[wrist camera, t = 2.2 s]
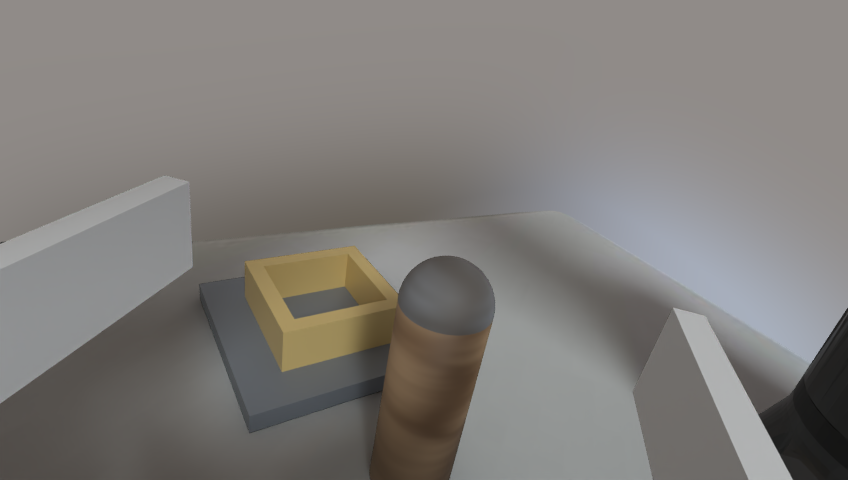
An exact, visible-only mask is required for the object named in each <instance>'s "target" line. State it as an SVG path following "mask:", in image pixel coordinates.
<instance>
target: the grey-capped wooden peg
mask: <svg viewBox="0 0 848 480" xmlns="http://www.w3.org/2000/svg"><path fill="white" fill-rule="evenodd" d="M494 313H495V297H494V293H493V289H492V287H491V284H490V282H489V280H488V279H487V277H486V276H485V275H484V273H483V272H482V271H481V270H480V269H479V268H478V267H477V266H475V265H474V264H472V263H471V262H469V261H467V260H465V259H462V258H459V257H454V256H438V257H433V258H430V259H427V260H425V261H423V262H422V263H420V264H418V265H417V266H416V267H415V268H413V269H412V270H411V271H410V272H409V274H408V275H407V276H406V278H405V279H404V281H403V283H402V285H401V288H400V290H399V294H398V300H397V306H396V312H395V318H394V324H393V331H392V337H391V343H390V349H389V355H388V361H387V367H386V373H385V379H384V386H383V392H382V398H381V404H380V410H379V416H378V422H377V428H376V435H375V441H374V447H373V453H372V459H371V465H370V480H449V478H450V475H451V471H452V467H453V464H454V460H455V456H456V453H457V449H458V446H459V442H460V438H461V435H462V431H463V427H464V424H465V420H466V416H467V413H468V409H469V406H470V402H471V398H472V395H473V391H474V387H475V384H476V380H477V376H478V373H479V369H480V365H481V362H482V358H483V355H484V351H485V347H486V344H487V340H488V336H489V333H490V329H491V325H492V322H493V318H494Z"/></svg>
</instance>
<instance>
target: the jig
mask: <svg viewBox="0 0 848 480" xmlns="http://www.w3.org/2000/svg"><path fill="white" fill-rule="evenodd" d="M199 288H200V299H201V302H202V305H203V308H204V310H205V313H206V316H207V319H208V321H209V324H210V327H211V330H212V332H213V335H214V338H215V341H216V343H217V346H218V349H219V351H220V354H221V357H222V360H223V362H224V365H225V368H226V371H227V373H228V376H229V379H230V382H231V384H232V387H233V390H234V392H235V395H236V398H237V401H238V403H239V406H240V409H241V412H242V414H243V417H244V420H245V423H246V425H247V428H248V431H249V433H251V432H254V431H257V430H260V429H263V428H266V427H270V426H273V425H276V424H279V423H282V422H285V421H288V420H291V419H294V418H297V417H301V416H304V415H307V414H310V413H313V412H316V411H319V410H322V409H325V408H329V407H332V406H335V405H338V404H341V403H344V402H347V401H350V400H353V399H356V398H360V397H363V396H366V395H369V394H372V393H375V392H378V391H381V390H383V386H384V379H385V373H386V367H387V361H388V355H389V349H390V343H391V337H392V331H393V324H394V318H395V312H396V306H397V300H398V293H397V292H396V291H395V290H394V289H393V288H392V286H391V285H390V284H389V283H388V282H387V281H386V280H385V279H384V278H383V277H382V275H381V274H380V273H379V272H378V271H377V270H376V269H375V268H374V267H373V265H372V264H371V263H370V262H369V261H368V260H367V259H366V258H365V257H364V256H363V255H362V254H361V253H360V251H359V250H358V249H357V248H356V247H355V246H350V247H343V248H336V249H329V250H322V251H315V252H308V253H301V254H293V255H286V256H279V257H272V258H265V259H258V260H251V261H245V277H240V278H234V279H228V280H221V281H215V282H208V283H202V284H199Z"/></svg>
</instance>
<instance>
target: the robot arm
mask: <svg viewBox="0 0 848 480" xmlns="http://www.w3.org/2000/svg"><path fill="white" fill-rule="evenodd" d="M189 187H190V186H189V182H188V181H184V180H180V179H176V178H173V177H168V176H162V177H160V178H157V179H155V180H153V181H150V182H148V183H145V184H143V185H141V186H138V187H136V188H133V189H131V190H128V191H126V192H124V193H121V194H119V195H117V196H114V197H112V198H109V199H107V200H104V201H102V202H100V203H97V204H95V205H93V206H90V207H88V208H86V209H83V210H81V211H78V212H76V213H73V214H71V215H68V216H66V217H64V218H61V219H59V220H56V221H54V222H52V223H49V224H47V225H44V226H42V227H40V228H37V229H35V230H33V231H30V232H27V233H25V234H23V235H20V236H18V237H15V238H13V239H11V240H8V241H5V242H1V243H0V403H2V402H3V401H4V400H6V399H7V398H9V397H10V396H11V395H13V394H14V393H16V392H17V391H18V390H20V389H21V388H23V387H24V386H26V385H27V384H28V383H30V382H31V381H33V380H34V379H35V378H37V377H38V376H40V375H41V374H42V373H44V372H45V371H47V370H48V369H50V368H51V367H52V366H54V365H55V364H57V363H58V362H59V361H61V360H62V359H64V358H65V357H66V356H68V355H69V354H71V353H72V352H74V351H75V350H76V349H78V348H79V347H81V346H82V345H83V344H85V343H86V342H88V341H89V340H90V339H92V338H93V337H95V336H96V335H98V334H99V333H100V332H102V331H103V330H105V329H106V328H107V327H109V326H110V325H112V324H113V323H114V322H116V321H117V320H119V319H120V318H122V317H123V316H124V315H126V314H127V313H129V312H130V311H131V310H133V309H134V308H136V307H137V306H138V305H140V304H141V303H143V302H144V301H145V300H147V299H148V298H150V297H151V296H153V295H154V294H155V293H157V292H158V291H160V290H161V289H162V288H164V287H165V286H167V285H168V284H169V283H171V282H172V281H174V280H175V279H177V278H178V277H179V276H181V275H182V274H184V273H185V272H186V271H188V270H189V269H191V268H192V267H193V260H192V237H191V236H192V235H191V212H190V190H189V189H190V188H189ZM633 395H634V399H635V404H636V408H637V412H638V417H639V421H640V425H641V430H642V434H643V438H644V442H645V447H646V451H647V455H648V460H649V464H650V468H651V472H652V477H653V480H848V308H847V310H846V311H845V313H844V314H843V316H842V317H841V319H840V320H839V322H838V323H837V325H836V326H835V328H834V329H833V331H832V332H831V334H830V335H829V337H828V339H827V340H826V342H825V343H824V345H823V346H822V348H821V349H820V351H819V352H818V354H817V355H816V357H815V358H814V360H813V361H812V363H811V364H810V366H809V367H808V369H807V370H806V372H805V374H804V375H803V377H802V378H801V380H800V381H799V383H798V384H797V386H796V387H795V389H794V390H793V391H792V393H791V394H790V395H789V396H787V397H786V398H784V399H783V400H781V401H779V402H778V403H776V404H775V405H773V406H772V407H770V408H768V409H767V410H765V411H764V412H762V413H760V414H759V415H758V414H757V412H756V410H755V408H754V406H753V404H752V402H751V401H750V399H749V397H748V395H747V393H746V391H745V389H744V387H743V386H742V384H741V382H740V380H739V378H738V376H737V374H736V372H735V371H734V369H733V367H732V365H731V363H730V361H729V359H728V358H727V356H726V354H725V352H724V350H723V348H722V346H721V344H720V343H719V341H718V339H717V337H716V335H715V333H714V331H713V329H712V328H711V326H710V324H709V322H708V320H707V318H706V316H704V315H700V314H696V313H692V312H688V311H684V310H681V309H677V308H673V309H672V311H671V313H670V315H669V317H668V319H667V321H666V323H665V325H664V327H663V329H662V332H661V334H660V336H659V338H658V340H657V342H656V344H655V346H654V348H653V350H652V352H651V354H650V357H649V359H648V361H647V363H646V365H645V367H644V369H643V371H642V373H641V375H640V377H639V379H638V382H637V384H636V386H635V388H634V390H633Z"/></svg>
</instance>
